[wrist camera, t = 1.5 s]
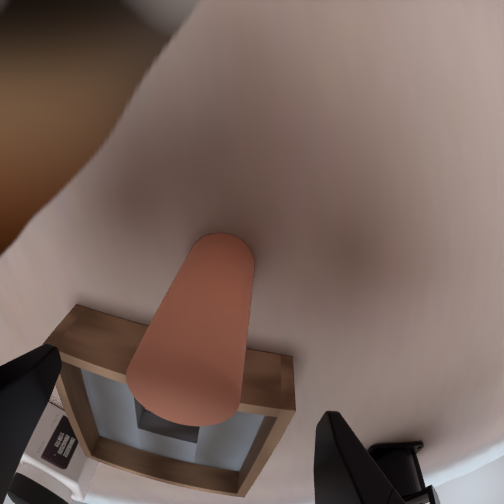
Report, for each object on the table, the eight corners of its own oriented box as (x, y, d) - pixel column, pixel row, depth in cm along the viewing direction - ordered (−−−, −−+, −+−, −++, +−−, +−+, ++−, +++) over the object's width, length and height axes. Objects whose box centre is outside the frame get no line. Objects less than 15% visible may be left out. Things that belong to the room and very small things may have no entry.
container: (40, 395, 25) (-11, 484, 13) (102, 428, 25) (61, 528, 14) (48, 426, 28) (10, 502, 16) (102, 454, 28) (71, 537, 17)
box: (292, 356, 19) (295, 411, 15) (247, 459, 25) (244, 497, 21) (76, 304, 19) (42, 344, 15) (100, 422, 25) (85, 455, 21)
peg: (261, 241, 16) (250, 367, 8) (247, 298, 18) (229, 434, 9) (192, 226, 16) (122, 336, 8) (185, 285, 17) (129, 410, 9)
